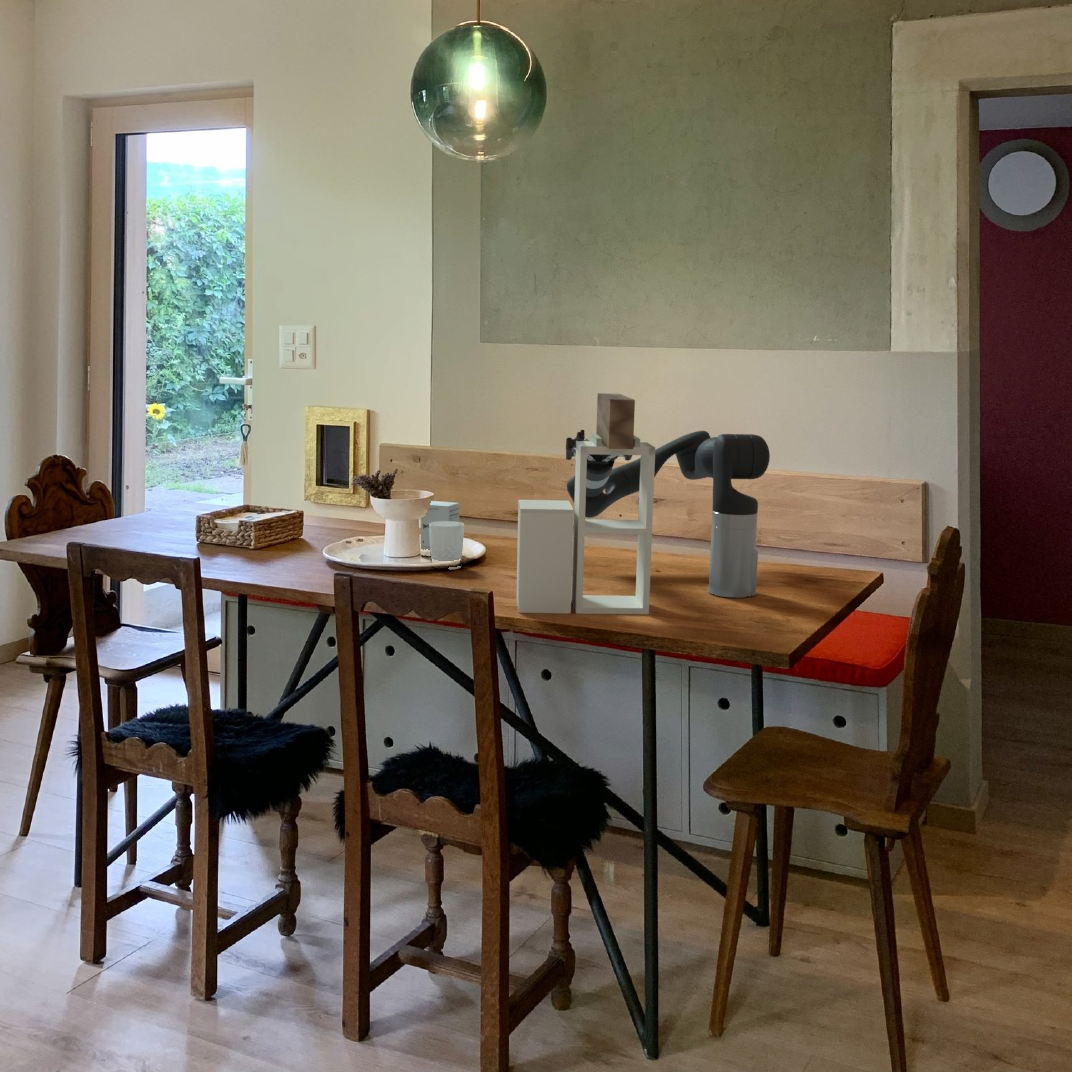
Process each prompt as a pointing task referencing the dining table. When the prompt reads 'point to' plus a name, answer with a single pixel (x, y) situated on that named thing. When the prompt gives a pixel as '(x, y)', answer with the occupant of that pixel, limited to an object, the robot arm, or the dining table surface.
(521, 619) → the dining table surface
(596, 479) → the robot arm
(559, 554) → the step shelf
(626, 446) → the walnut block
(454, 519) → the supplement box
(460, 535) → the pale blue cup
